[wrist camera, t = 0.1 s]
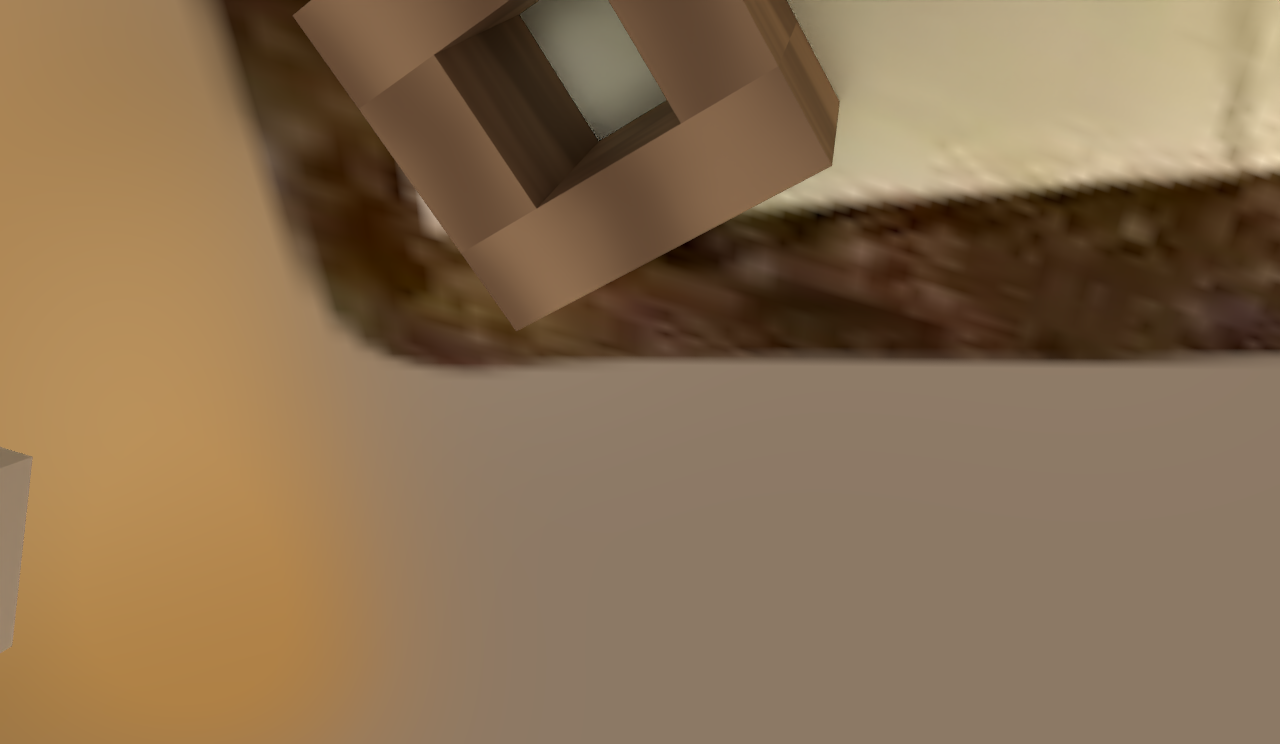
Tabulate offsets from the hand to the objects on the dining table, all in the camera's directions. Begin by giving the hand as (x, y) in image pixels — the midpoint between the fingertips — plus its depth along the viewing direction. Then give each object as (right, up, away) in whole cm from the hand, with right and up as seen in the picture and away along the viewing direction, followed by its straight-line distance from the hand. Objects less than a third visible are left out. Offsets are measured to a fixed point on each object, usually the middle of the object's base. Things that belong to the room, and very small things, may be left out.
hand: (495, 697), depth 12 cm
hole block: (+1, +16, +23) cm, 28 cm away
